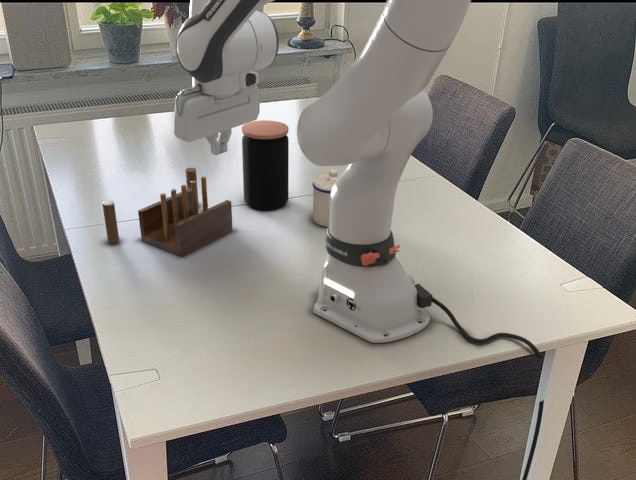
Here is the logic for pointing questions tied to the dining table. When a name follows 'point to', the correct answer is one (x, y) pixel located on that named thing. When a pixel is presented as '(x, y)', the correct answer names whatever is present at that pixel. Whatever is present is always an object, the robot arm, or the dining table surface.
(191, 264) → the dining table surface
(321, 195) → the teacup with lid
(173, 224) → the plate rack
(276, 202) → the coffee jar
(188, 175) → the marker posts
